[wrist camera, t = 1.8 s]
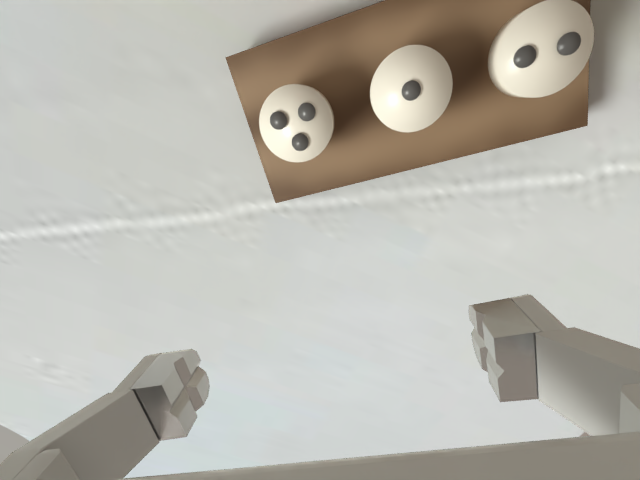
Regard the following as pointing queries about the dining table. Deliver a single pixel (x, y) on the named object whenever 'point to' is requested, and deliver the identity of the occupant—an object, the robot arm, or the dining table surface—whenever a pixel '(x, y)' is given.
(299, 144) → the button three
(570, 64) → the button two
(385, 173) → the button board
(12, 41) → the dining table surface
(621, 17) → the dining table surface
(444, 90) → the button one
